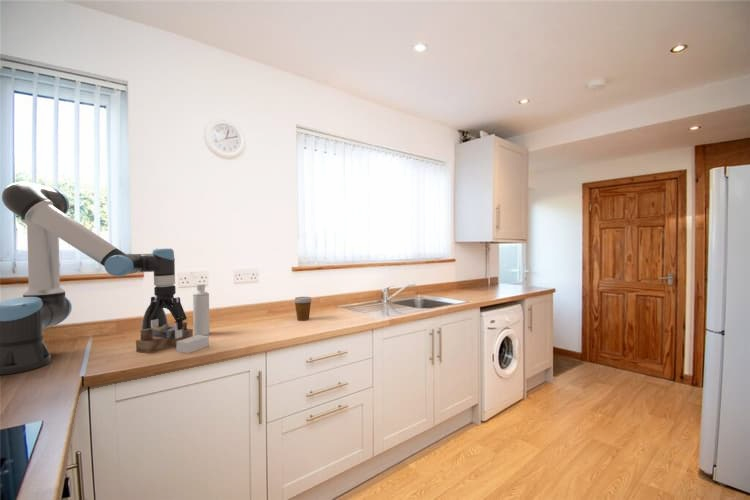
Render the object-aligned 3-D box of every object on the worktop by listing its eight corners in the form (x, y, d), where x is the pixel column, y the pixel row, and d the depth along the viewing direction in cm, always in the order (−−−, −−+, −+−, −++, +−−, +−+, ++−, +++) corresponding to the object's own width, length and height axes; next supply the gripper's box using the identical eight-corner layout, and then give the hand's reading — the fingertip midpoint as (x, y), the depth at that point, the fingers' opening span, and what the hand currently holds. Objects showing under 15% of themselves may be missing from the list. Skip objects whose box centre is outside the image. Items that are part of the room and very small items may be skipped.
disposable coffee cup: (315, 318, 188) (315, 297, 188) (303, 322, 180) (303, 299, 180) (303, 316, 193) (302, 296, 193) (290, 320, 185) (290, 298, 185)
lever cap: (166, 338, 136) (166, 328, 136) (147, 335, 140) (147, 326, 139) (184, 333, 143) (183, 324, 143) (165, 330, 147) (165, 322, 147)
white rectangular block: (188, 353, 131) (187, 342, 130) (176, 351, 133) (176, 341, 133) (208, 345, 140) (208, 336, 140) (197, 344, 142) (197, 334, 142)
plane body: (148, 353, 131) (148, 331, 131) (136, 351, 133) (135, 329, 133) (192, 339, 150) (192, 320, 149) (181, 337, 152) (180, 319, 152)
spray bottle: (191, 334, 158) (190, 280, 158) (206, 331, 163) (205, 279, 163) (196, 336, 154) (195, 281, 153) (212, 333, 159) (211, 280, 158)
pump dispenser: (155, 340, 149) (155, 305, 148) (135, 339, 151) (135, 305, 151) (173, 334, 159) (173, 301, 158) (155, 333, 161) (154, 301, 161)
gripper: (195, 285, 140) (196, 336, 141) (152, 283, 149) (154, 331, 149) (179, 287, 133) (180, 341, 134) (135, 285, 142) (136, 336, 142)
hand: (166, 336), depth 141 cm, fingers open, 13 cm apart
